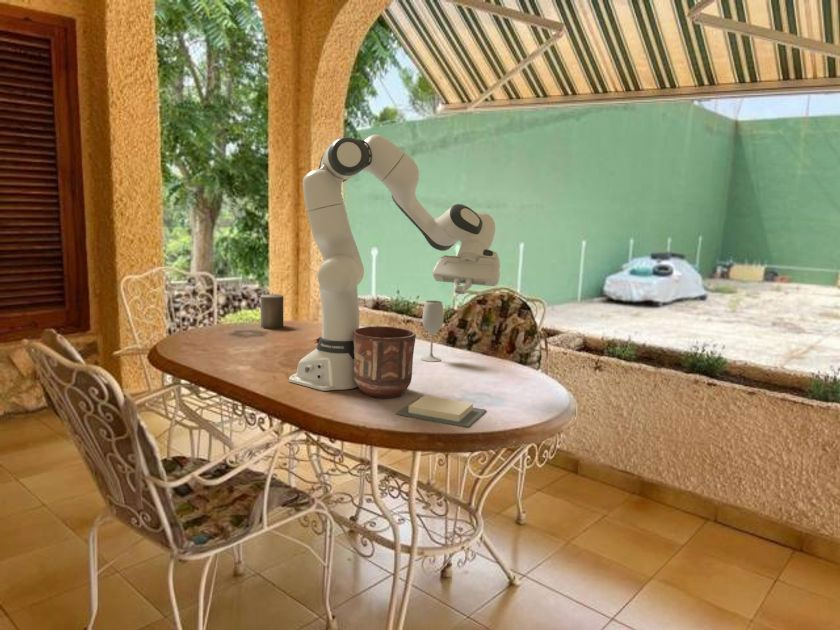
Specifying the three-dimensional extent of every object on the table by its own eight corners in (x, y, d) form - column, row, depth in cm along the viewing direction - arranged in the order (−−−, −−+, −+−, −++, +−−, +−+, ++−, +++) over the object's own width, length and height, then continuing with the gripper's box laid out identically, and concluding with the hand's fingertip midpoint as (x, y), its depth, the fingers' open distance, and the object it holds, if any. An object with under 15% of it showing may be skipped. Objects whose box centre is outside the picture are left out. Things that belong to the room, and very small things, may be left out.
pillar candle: (286, 328, 268) (286, 293, 265) (264, 329, 263) (264, 294, 260) (278, 324, 276) (279, 290, 273) (257, 325, 271) (257, 291, 268)
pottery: (380, 380, 194) (382, 323, 191) (424, 392, 183) (427, 332, 180) (339, 391, 180) (340, 330, 177) (383, 405, 169) (386, 340, 166)
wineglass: (422, 362, 219) (425, 303, 216) (418, 356, 227) (421, 299, 223) (443, 362, 221) (446, 303, 217) (438, 356, 228) (441, 300, 225)
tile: (424, 402, 173) (408, 413, 163) (424, 395, 172) (408, 406, 162) (472, 410, 167) (458, 422, 157) (473, 403, 167) (459, 415, 157)
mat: (395, 414, 163) (395, 412, 162) (418, 399, 176) (418, 398, 176) (468, 427, 155) (468, 426, 155) (486, 411, 169) (486, 409, 168)
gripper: (437, 248, 192) (424, 282, 185) (502, 252, 184) (490, 288, 177) (442, 262, 197) (429, 296, 190) (505, 266, 189) (493, 302, 182)
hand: (459, 292), depth 183 cm, fingers closed
